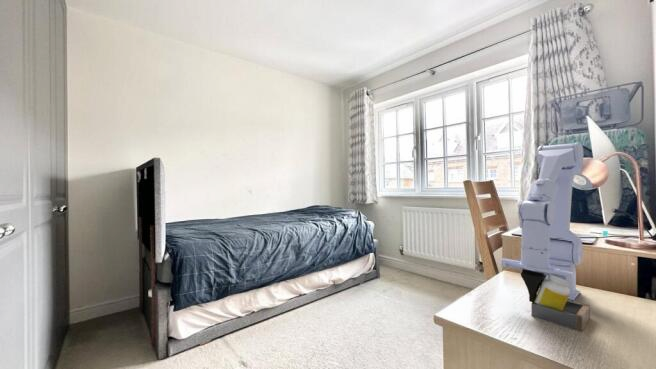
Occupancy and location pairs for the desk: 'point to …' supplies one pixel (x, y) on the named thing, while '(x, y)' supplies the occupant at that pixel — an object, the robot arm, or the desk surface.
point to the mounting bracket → (564, 314)
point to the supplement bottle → (553, 292)
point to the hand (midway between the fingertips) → (533, 301)
